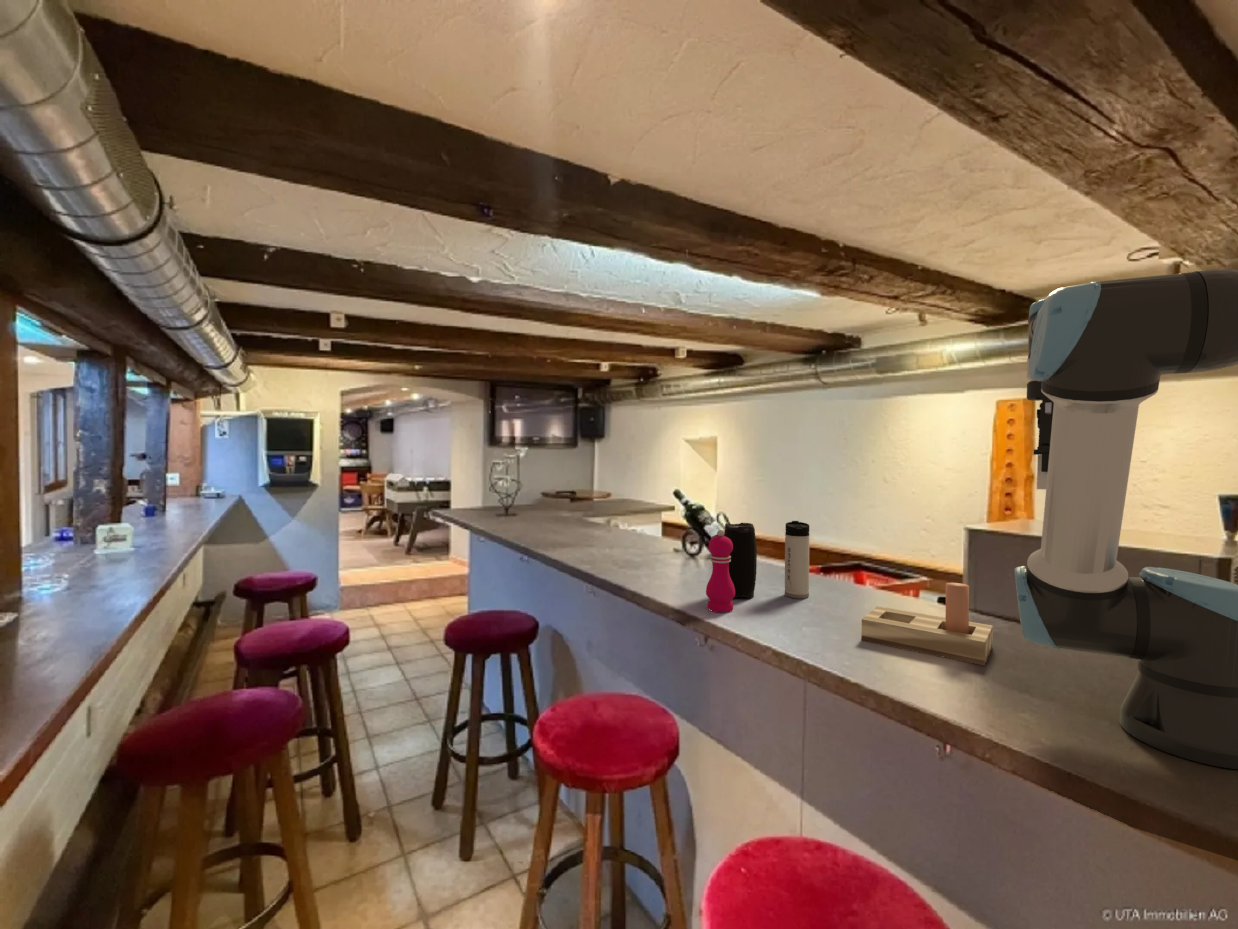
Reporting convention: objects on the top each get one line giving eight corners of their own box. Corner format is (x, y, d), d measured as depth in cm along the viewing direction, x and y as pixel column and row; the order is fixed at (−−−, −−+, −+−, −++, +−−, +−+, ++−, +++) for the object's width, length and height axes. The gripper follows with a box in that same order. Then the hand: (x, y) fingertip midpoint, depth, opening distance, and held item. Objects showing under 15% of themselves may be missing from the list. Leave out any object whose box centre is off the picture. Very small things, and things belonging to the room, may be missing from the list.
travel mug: (805, 592, 158) (806, 520, 157) (811, 599, 151) (812, 524, 150) (782, 592, 158) (783, 520, 157) (787, 598, 152) (787, 524, 151)
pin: (966, 649, 112) (966, 588, 111) (943, 644, 114) (943, 585, 114) (970, 644, 115) (970, 584, 114) (947, 640, 117) (948, 581, 117)
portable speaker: (715, 596, 154) (715, 524, 154) (737, 590, 161) (737, 521, 160) (741, 602, 148) (741, 527, 147) (762, 596, 154) (763, 524, 153)
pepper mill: (735, 614, 138) (735, 532, 137) (705, 612, 139) (705, 531, 139) (735, 606, 145) (735, 528, 144) (706, 604, 146) (706, 527, 146)
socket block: (984, 665, 106) (985, 642, 106) (861, 640, 120) (861, 619, 120) (992, 647, 116) (992, 625, 115) (877, 625, 129) (877, 606, 129)
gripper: (1074, 372, 100) (1070, 492, 101) (1075, 383, 119) (1072, 484, 120) (1022, 375, 105) (1019, 490, 106) (1031, 385, 124) (1028, 482, 125)
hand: (1047, 487), depth 113 cm, fingers open, 13 cm apart
